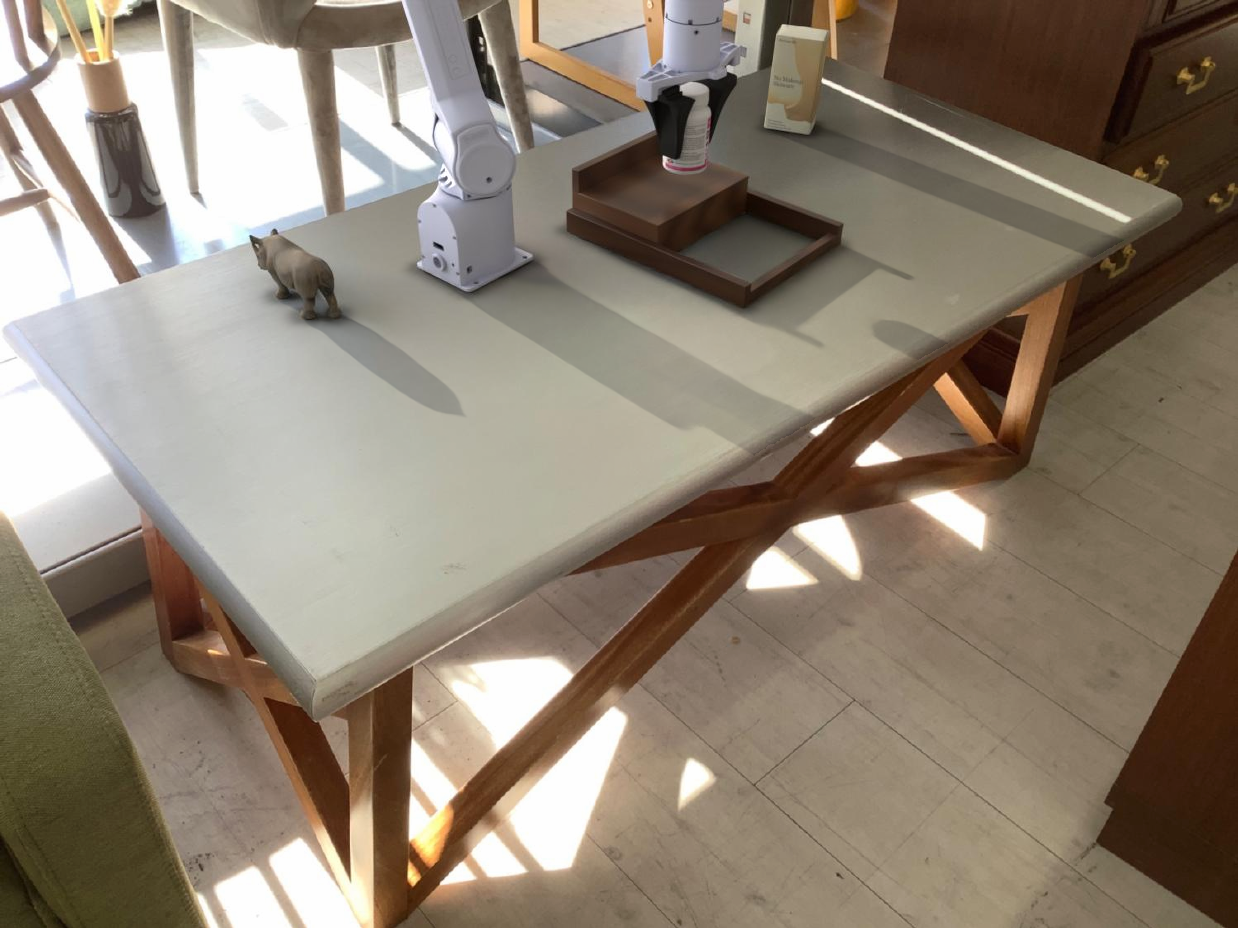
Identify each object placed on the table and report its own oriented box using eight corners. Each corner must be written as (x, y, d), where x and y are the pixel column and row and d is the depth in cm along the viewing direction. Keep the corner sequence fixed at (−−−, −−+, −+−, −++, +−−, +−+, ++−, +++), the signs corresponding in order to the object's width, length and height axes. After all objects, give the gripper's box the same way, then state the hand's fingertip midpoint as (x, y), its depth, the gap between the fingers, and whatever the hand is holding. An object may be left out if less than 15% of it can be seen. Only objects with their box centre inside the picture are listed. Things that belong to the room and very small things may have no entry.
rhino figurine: (277, 261, 115) (267, 209, 112) (350, 314, 108) (341, 259, 104) (242, 275, 113) (229, 221, 109) (313, 329, 106) (303, 274, 102)
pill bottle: (714, 172, 117) (720, 94, 111) (673, 179, 115) (677, 100, 110) (696, 154, 120) (701, 77, 115) (655, 160, 119) (658, 83, 113)
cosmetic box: (763, 129, 144) (773, 33, 136) (769, 117, 147) (779, 22, 139) (812, 136, 142) (825, 40, 135) (817, 123, 146) (830, 28, 138)
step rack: (743, 308, 110) (750, 245, 105) (566, 231, 122) (565, 171, 117) (840, 244, 120) (850, 184, 116) (668, 178, 132) (671, 122, 128)
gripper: (679, 44, 101) (671, 182, 110) (770, 8, 110) (756, 139, 119) (621, 26, 105) (618, 161, 114) (713, -7, 113) (704, 121, 122)
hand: (685, 149), depth 116 cm, fingers closed on pill bottle, 5 cm apart
